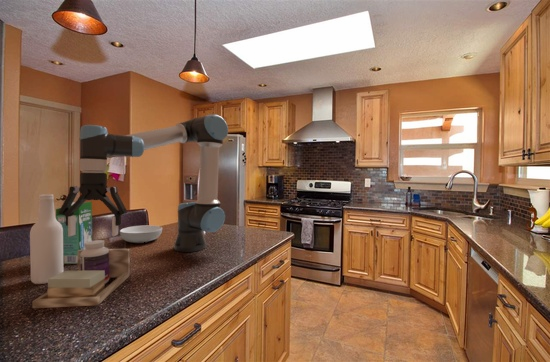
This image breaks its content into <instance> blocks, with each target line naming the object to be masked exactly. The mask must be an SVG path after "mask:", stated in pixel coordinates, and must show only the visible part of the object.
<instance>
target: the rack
mask: <svg viewBox="0 0 550 362" xmlns="http://www.w3.org/2000/svg"><path fill="white" fill-rule="evenodd" d="M108 250H109V279H111V278H115V280H113V281H112V282H111V283H110V284H108V285H107V286H106V287H105V289H104V290H103V291H102V292H100V293H99V294H98V295H97V296H96V297H75V298H52V299H48V291H47V292H45V293H44V294H42V295H40V296H38V297H37V298H35V299H34V300H32V302H31V303H32V304H31V305H32V309H44V308H49V309H50V308H67V307H68V308H69V307H85V306H86V307H87V306H90V307H91V306H98V305H100V304H101V303H102V302H103V301H104V300H105V299H107V297H109V296H110V295H111V294H112V293H113V292H114V291H115V290H116V289H117V288H118V287H120V285H122V284H123V283H124V282H125V281H126V280H127V279H128V278H129V277H130V276H131V259H130V258H131V252H130V251H131V249H130V248H108ZM82 251H83V250H78V264H77V271H81V261H80V254H81V252H82Z"/></svg>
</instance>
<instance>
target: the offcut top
mask: <svg viewBox="0 0 550 362" xmlns="http://www.w3.org/2000/svg"><path fill="white" fill-rule="evenodd" d="M63 271H64V272H62V273H60V274H58V275H56V276H54V277H52V278H49V279H48V283H47V289H48V288H90V287H92V286H93V285H95V284H97V283H98V282H100V281H101V280H103V279H104V278H105V270H82V271H78V270H63Z"/></svg>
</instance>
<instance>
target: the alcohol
mask: <svg viewBox="0 0 550 362" xmlns="http://www.w3.org/2000/svg"><path fill="white" fill-rule="evenodd" d="M54 196H55V195H54V194H52V193H45V194H39V195H38V197H39V198H38V200H39V202H38V203H39V204H38V213H37V214H38V215H37V220H36V222H35V223H33V225H32V226H31V228H30V231H29V249H30V251H29V252H30V255H29V256H30V257H29V258H30V281H31V282H32V284H34V285H42V284H43V285H45V284H48V279H49V278H52V277H54V276H56V275H58V274H60V273H62V272H64V271H65V270H64V264H63V228H62V225H61V224H60V223H59V222H58V221H57V220H56V209H55V203H54V199H55V198H54Z"/></svg>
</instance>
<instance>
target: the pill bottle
mask: <svg viewBox="0 0 550 362" xmlns="http://www.w3.org/2000/svg"><path fill="white" fill-rule="evenodd" d="M85 248H86V249H85V250H83V251H82V252H81V254H80V261H81V271H82V270H105V278H104V285H106V284H107V283H108V282H109V281H110V278H109V250H108V249H109V248H108V247H107V246H105V240H103V239H95V240H92V241H89V242H86V243H85Z"/></svg>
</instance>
